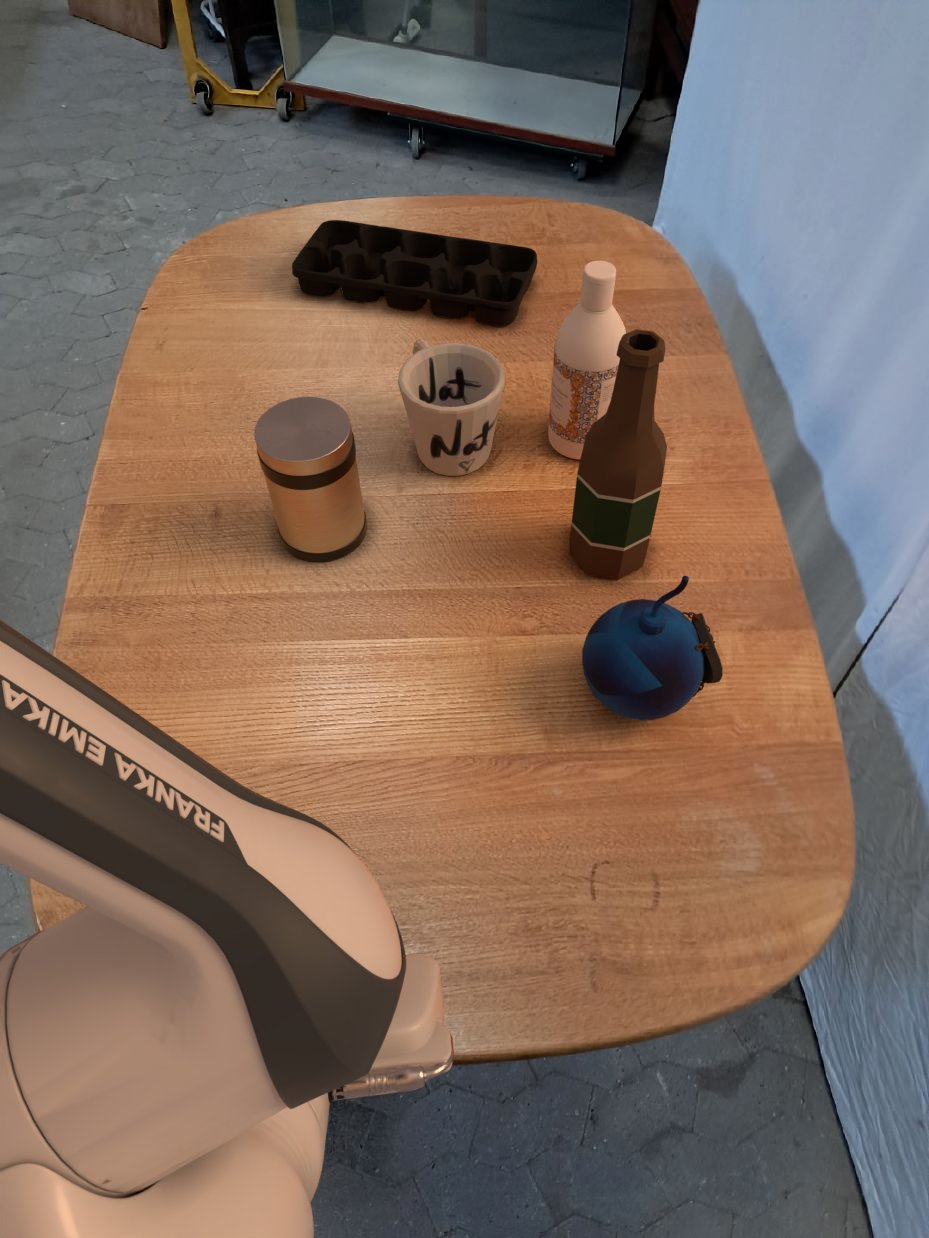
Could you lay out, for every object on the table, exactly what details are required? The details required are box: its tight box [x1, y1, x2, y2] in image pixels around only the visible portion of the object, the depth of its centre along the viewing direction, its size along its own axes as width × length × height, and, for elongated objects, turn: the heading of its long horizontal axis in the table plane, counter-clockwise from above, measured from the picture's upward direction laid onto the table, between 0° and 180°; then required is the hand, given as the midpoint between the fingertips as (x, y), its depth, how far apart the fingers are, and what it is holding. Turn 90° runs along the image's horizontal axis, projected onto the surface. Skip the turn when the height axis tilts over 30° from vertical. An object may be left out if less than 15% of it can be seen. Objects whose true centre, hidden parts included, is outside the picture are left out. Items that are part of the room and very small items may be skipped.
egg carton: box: [291, 219, 538, 327], centre depth 112 cm, size 18×30×4 cm, turn 86°
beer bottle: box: [568, 328, 668, 581], centre depth 77 cm, size 8×8×24 cm
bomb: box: [581, 575, 724, 722], centre depth 72 cm, size 10×11×15 cm
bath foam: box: [547, 260, 627, 460], centre depth 88 cm, size 7×7×20 cm
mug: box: [397, 338, 506, 477], centre depth 93 cm, size 10×15×10 cm
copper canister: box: [253, 396, 368, 563], centre depth 84 cm, size 9×9×13 cm
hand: (275, 956), depth 56 cm, fingers open, 8 cm apart
